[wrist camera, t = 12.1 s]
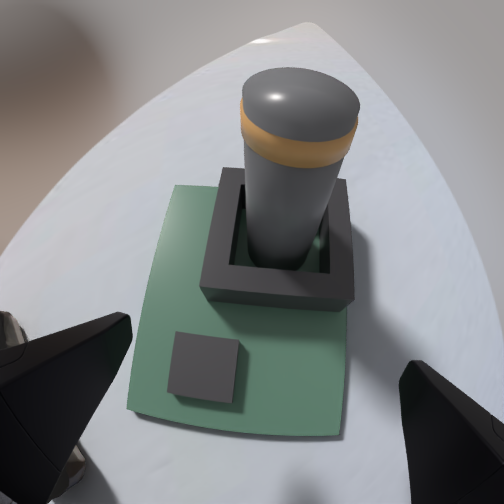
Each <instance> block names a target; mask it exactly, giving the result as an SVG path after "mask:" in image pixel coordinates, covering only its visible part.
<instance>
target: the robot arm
mask: <svg viewBox="0 0 504 504" xmlns="http://www.w3.org/2000/svg"><path fill="white" fill-rule="evenodd" d="M132 338H133V334H132V326H131V318H130V316H129V315H128V314H125V313H122V312H115V313H112V314H109V315H107V316H104V317H101V318H98V319H95V320H92V321H89V322H86V323H83V324H80V325H77V326H74V327H71V328H68V329H65V330H62V331H59V332H56V333H53V334H50V335H47V336H44V337H41V338H37V339H34V340H31V341H29V342H25V343H22V344H19V345H16V346H12V347H9V348H6V349H2V350H0V504H11V503H12V501H14V502H16V503H17V504H46V503H47V501H48V499H49V497H50V495H51V493H52V491H53V489H54V487H55V485H56V483H57V481H58V479H59V477H60V475H61V472H62V471H63V469H64V467H65V465H66V463H67V461H68V459H69V457H70V455H71V453H72V452H73V450H74V448H75V446H76V444H77V442H78V441H79V439H80V437H81V435H82V433H83V432H84V430H85V428H86V426H87V424H88V423H89V421H90V419H91V417H92V416H93V414H94V412H95V410H96V409H97V407H98V405H99V404H100V402H101V400H102V399H103V397H104V395H105V393H106V392H107V390H108V388H109V387H110V385H111V383H112V382H113V380H114V378H115V376H116V374H117V372H118V370H119V368H120V366H121V364H122V361H123V359H124V357H125V355H126V353H127V351H128V349H129V347H130V344H131V342H132ZM399 393H400V404H401V418H402V426H403V433H404V439H405V446H406V453H407V461H408V470H409V479H410V491H411V504H504V424H503V423H502V422H501V421H499V420H498V419H497V418H496V417H494V416H493V415H491V414H490V413H489V412H488V411H487V410H485V409H484V408H483V407H482V406H480V405H479V404H478V403H476V402H475V401H474V400H473V399H471V398H470V397H469V396H467V395H466V394H465V393H464V392H462V391H461V390H460V389H458V388H457V387H456V386H455V385H453V384H452V383H451V382H449V381H448V380H447V379H446V378H444V377H443V376H442V375H440V374H439V373H438V372H436V371H435V370H434V369H432V368H431V367H430V366H429V365H427V364H426V363H425V362H423V361H421V360H411V361H410V362H409V363H408V365H407V367H406V368H405V370H404V372H403V374H402V376H401V377H400V380H399Z"/></svg>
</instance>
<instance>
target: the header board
mask: <svg viewBox="0 0 504 504" xmlns="http://www.w3.org/2000/svg"><path fill="white" fill-rule="evenodd" d="M354 300H355V299H354V268H353V250H352V235H351V223H350V213H349V203H348V194H347V186H346V179H339V178H337V179H336V182H335V185H334V188H333V190H332V193H331V196H330V199H329V201H328V204H327V207H326V209H325V212H324V215H323V217H322V220H321V223H320V225H319V228H318V231H317V233H316V236H315V238H314V241H313V243H312V246H311V248H310V251H309V253H308V256H307V258H306V260H305V262H304V264H303V265H302V266H301V267H300V268H299V269H298V270H296V271H291V270H280V269H269V268H258V267H257V266H256V265H255V264H254V263H253V262H252V260H251V259H250V256H249V254H248V246H247V219H246V190H245V169H243V168H227V167H223V169H222V174H221V178H220V183H219V187H210V186H189V185H175V187H174V190H173V193H172V196H171V199H170V203H169V206H168V209H167V212H166V216H165V219H164V223H163V226H162V230H161V233H160V237H159V240H158V244H157V248H156V252H155V256H154V259H153V263H152V267H151V272H150V276H149V280H148V284H147V289H146V293H145V298H144V302H143V307H142V312H141V317H140V322H139V327H138V333H137V338H136V344H135V350H134V356H133V363H132V369H131V376H130V384H129V392H128V400H127V409H128V410H131V411H135V412H138V413H142V414H145V415H149V416H153V417H157V418H161V419H165V420H170V421H174V422H179V423H184V424H189V425H194V426H200V427H206V428H212V429H219V430H226V431H234V432H243V433H253V434H266V435H286V436H328V435H339V431H340V422H341V413H342V402H343V390H344V376H345V357H346V324H347V306H348V305H349V304H350V303H351V302H352V301H354Z"/></svg>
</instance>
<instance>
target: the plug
mask: <svg viewBox="0 0 504 504" xmlns="http://www.w3.org/2000/svg"><path fill="white" fill-rule="evenodd" d="M359 110H360V103H359V99H358V97H357V96H356V94H355V93H354V92H353V91H352V90H351V89H350V88H349V87H348V86H347V85H345V84H344V83H342V82H341V81H339V80H337V79H335V78H333V77H331V76H329V75H326V74H324V73H321V72H317V71H314V70H309V69H303V68H290V67H286V68H274V69H269V70H265V71H262V72H259V73H257V74H255V75H253V76H251V77H250V78H249V79H248V80H247V81H246V82H245V83H244V85H243V89H242V99H241V103H240V116H241V133H242V136H243V139H244V160H245V190H246V219H247V246H248V254H249V256H250V259H251V260H252V262H253V263H254V264H255V265H256V266H257V267H258V268H269V269H280V270H291V271H296V270H298V269H299V268H300V267H301V266H302V265H303V264H304V262H305V260H306V258H307V256H308V253H309V251H310V248H311V246H312V243H313V241H314V238H315V236H316V233H317V231H318V228H319V225H320V223H321V220H322V217H323V215H324V212H325V209H326V207H327V204H328V201H329V199H330V196H331V193H332V190H333V188H334V185H335V182H336V179H337V176H338V174H339V171H340V168H341V165H342V162H343V159H344V156H345V155H346V154H347V153H348V151H349V149H350V146H351V143H352V140H353V137H354V134H355V131H356V128H357V125H358V113H359Z"/></svg>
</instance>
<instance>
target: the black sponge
mask: <svg viewBox="0 0 504 504" xmlns="http://www.w3.org/2000/svg"><path fill="white" fill-rule="evenodd" d="M22 343H25V342H24V339H23V336H22V333H21V330H20V326H19V324H18V322H17V320H16V319H15V318H14V317H13V316H12V315H11V314H10V313H9V312H4V311H0V350H2V349H6V348H9V347H12V346H16V345H19V344H22ZM85 468H86V464H85V458H84V457H83V456H82V454H81V453H80V451H79V449H78V447H77V446H75V448H74V450H73V452H72V453H71V455H70V457H69V459H68V461H67V463H66V465H65V467H64V469H63V471H62V472H61V475H60V477H59V479H58V481H57V483H56V485H55V487H54V489H53V491H52V493H51V495H50V497H49V499H48V501H47V503H46V504H48V503H49V502H50V501H51V500H52V499H54V498H57V497H59V496H61V495H62V494H63V493H64V492H65V491H66V490H67V489H68V488H70V487H72V486H73V485H75V484H76V483H78V482H79V481H80V480H81V479H82V477H83V474H84V471H85Z"/></svg>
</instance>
